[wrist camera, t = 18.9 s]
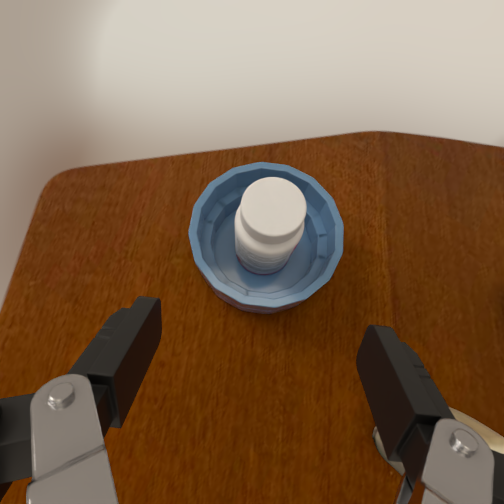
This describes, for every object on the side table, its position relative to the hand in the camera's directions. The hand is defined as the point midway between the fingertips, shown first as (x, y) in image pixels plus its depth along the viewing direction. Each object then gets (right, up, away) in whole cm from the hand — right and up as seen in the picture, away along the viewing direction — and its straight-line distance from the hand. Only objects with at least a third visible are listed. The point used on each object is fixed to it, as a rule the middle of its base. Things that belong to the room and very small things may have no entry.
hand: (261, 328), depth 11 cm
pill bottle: (+1, +3, +14) cm, 15 cm away
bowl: (+1, +3, +15) cm, 15 cm away
